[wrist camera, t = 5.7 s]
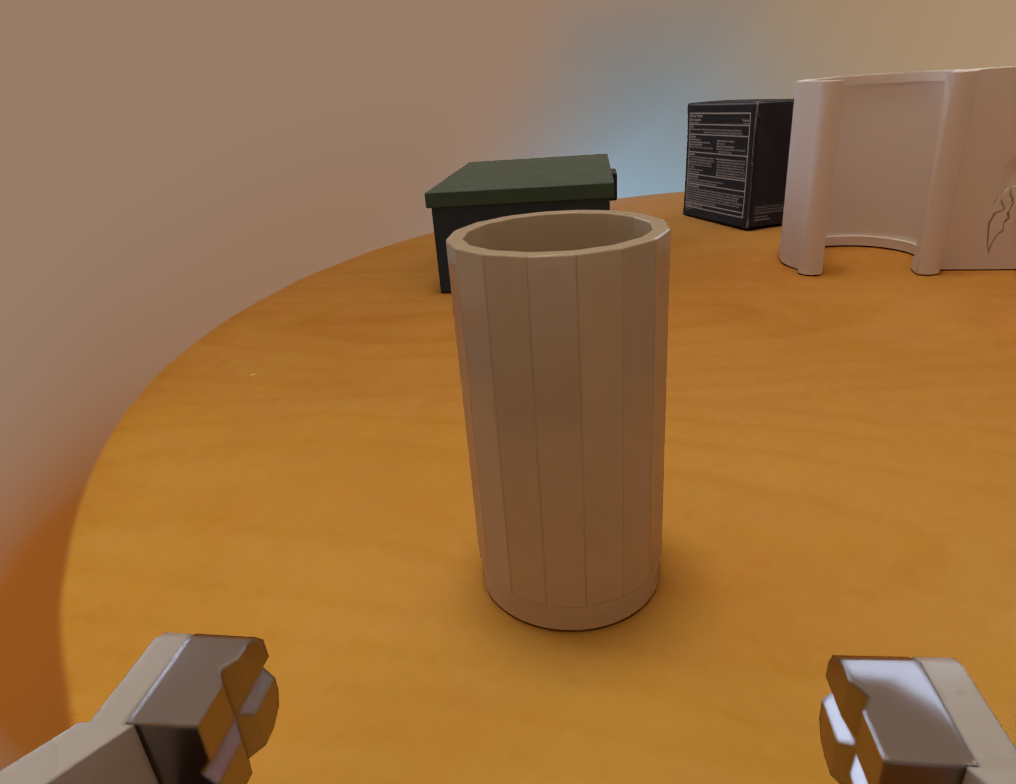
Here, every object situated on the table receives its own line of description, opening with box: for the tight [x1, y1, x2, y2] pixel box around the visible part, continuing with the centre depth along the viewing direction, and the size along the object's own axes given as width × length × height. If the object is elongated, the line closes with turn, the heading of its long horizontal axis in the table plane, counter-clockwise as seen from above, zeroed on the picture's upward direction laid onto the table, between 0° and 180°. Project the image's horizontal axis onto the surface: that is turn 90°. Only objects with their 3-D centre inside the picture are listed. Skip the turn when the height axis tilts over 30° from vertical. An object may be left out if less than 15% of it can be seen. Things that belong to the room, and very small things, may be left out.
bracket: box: [779, 66, 1016, 275], centre depth 45 cm, size 25×10×12 cm, turn 76°
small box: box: [683, 99, 794, 229], centre depth 63 cm, size 11×6×10 cm, turn 19°
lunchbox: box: [425, 154, 617, 293], centre depth 54 cm, size 19×14×7 cm
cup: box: [446, 210, 671, 630], centre depth 18 cm, size 5×5×10 cm
